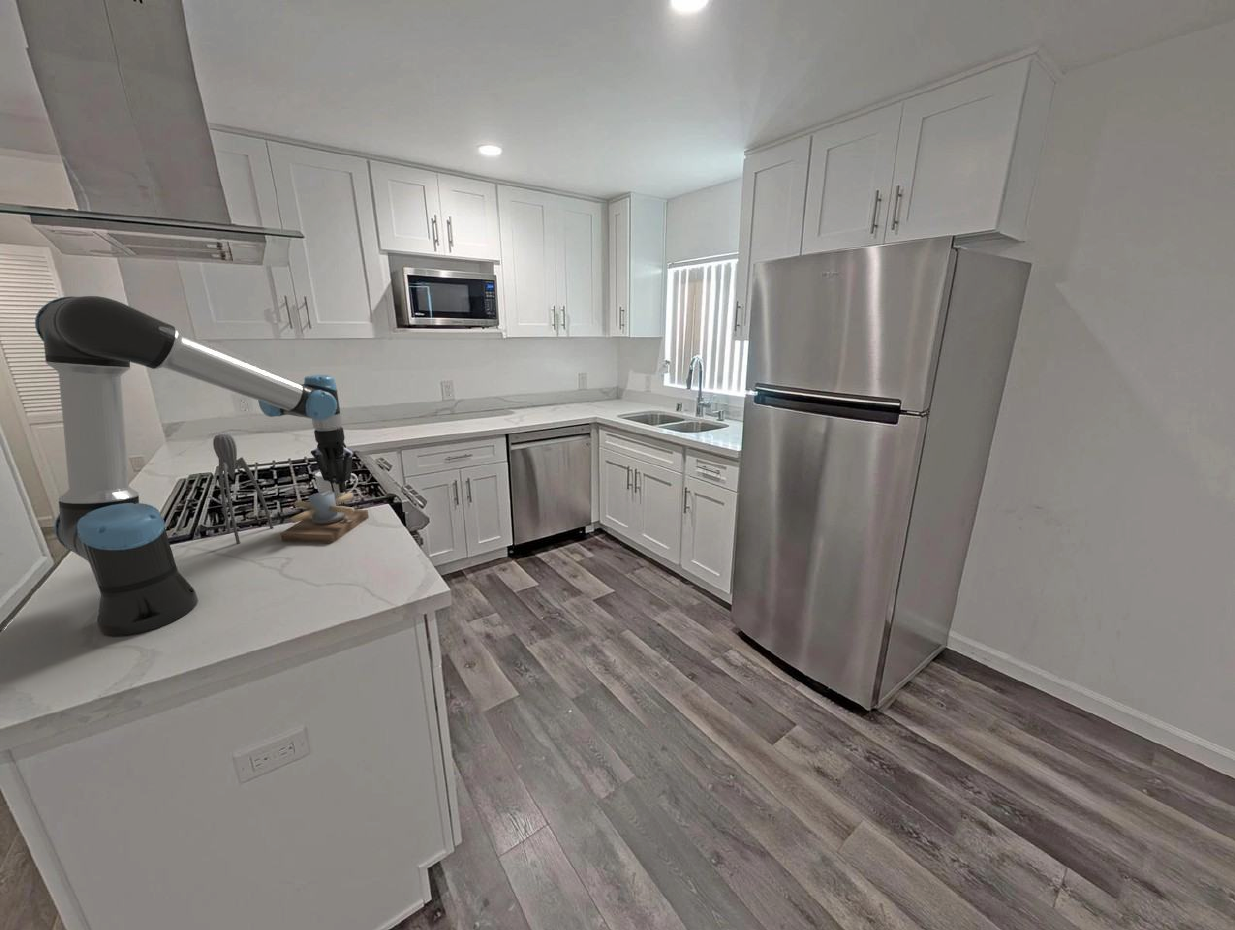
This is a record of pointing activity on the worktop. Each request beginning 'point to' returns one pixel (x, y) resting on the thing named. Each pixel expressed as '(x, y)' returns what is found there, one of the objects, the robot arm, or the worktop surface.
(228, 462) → the citrus juicer
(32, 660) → the worktop surface
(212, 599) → the worktop surface
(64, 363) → the robot arm
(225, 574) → the worktop surface
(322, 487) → the mug
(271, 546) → the worktop surface
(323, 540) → the stand
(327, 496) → the capstan
